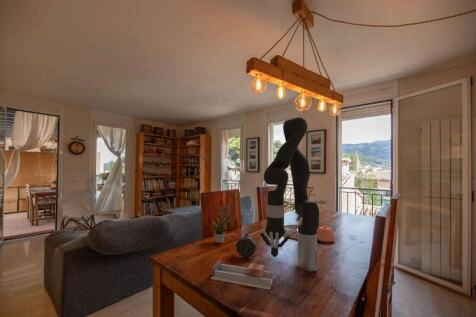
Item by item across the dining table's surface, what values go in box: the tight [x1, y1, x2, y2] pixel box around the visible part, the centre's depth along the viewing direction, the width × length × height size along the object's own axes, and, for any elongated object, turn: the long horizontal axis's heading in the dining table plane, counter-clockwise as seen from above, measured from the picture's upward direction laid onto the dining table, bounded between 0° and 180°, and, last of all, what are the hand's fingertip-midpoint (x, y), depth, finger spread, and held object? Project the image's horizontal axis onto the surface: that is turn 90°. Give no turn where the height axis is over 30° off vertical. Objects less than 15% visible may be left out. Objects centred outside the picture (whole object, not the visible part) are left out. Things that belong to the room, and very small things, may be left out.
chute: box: [210, 259, 275, 290], centre depth 97 cm, size 26×12×5 cm, turn 71°
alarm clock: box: [235, 228, 258, 259], centre depth 120 cm, size 11×5×16 cm, turn 74°
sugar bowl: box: [317, 224, 336, 243], centre depth 151 cm, size 12×14×10 cm
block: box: [247, 262, 265, 278], centre depth 95 cm, size 6×5×5 cm
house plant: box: [211, 217, 232, 242], centre depth 146 cm, size 14×14×16 cm
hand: (274, 256), depth 93 cm, fingers closed
